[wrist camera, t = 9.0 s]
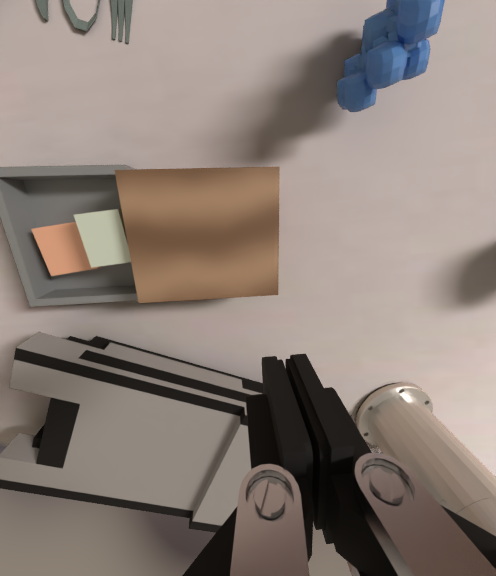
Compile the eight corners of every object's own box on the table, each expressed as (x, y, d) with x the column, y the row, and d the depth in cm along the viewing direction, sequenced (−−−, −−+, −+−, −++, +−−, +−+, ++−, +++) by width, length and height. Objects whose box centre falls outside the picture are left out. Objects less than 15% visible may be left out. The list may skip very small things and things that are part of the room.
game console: (58, 318, 32) (6, 354, 24) (281, 383, 39) (296, 428, 31) (33, 437, 38) (-17, 498, 30) (232, 476, 44) (234, 535, 36)
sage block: (132, 261, 25) (91, 267, 24) (147, 252, 29) (112, 257, 29) (117, 209, 23) (73, 214, 23) (135, 208, 28) (99, 212, 28)
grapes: (353, 151, 29) (437, 117, 17) (304, 118, 27) (361, 56, 16) (417, 41, 26) (566, -85, 15) (366, -3, 24) (490, -182, 13)
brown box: (267, 276, 33) (278, 294, 26) (156, 282, 31) (138, 303, 25) (266, 175, 29) (279, 166, 22) (140, 178, 28) (114, 170, 21)
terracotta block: (51, 276, 27) (65, 270, 29) (98, 268, 27) (108, 263, 29) (31, 228, 25) (47, 226, 28) (81, 220, 25) (93, 219, 28)
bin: (156, 288, 32) (147, 299, 28) (53, 294, 31) (30, 306, 27) (138, 170, 27) (124, 164, 24) (18, 172, 26) (-17, 167, 23)
